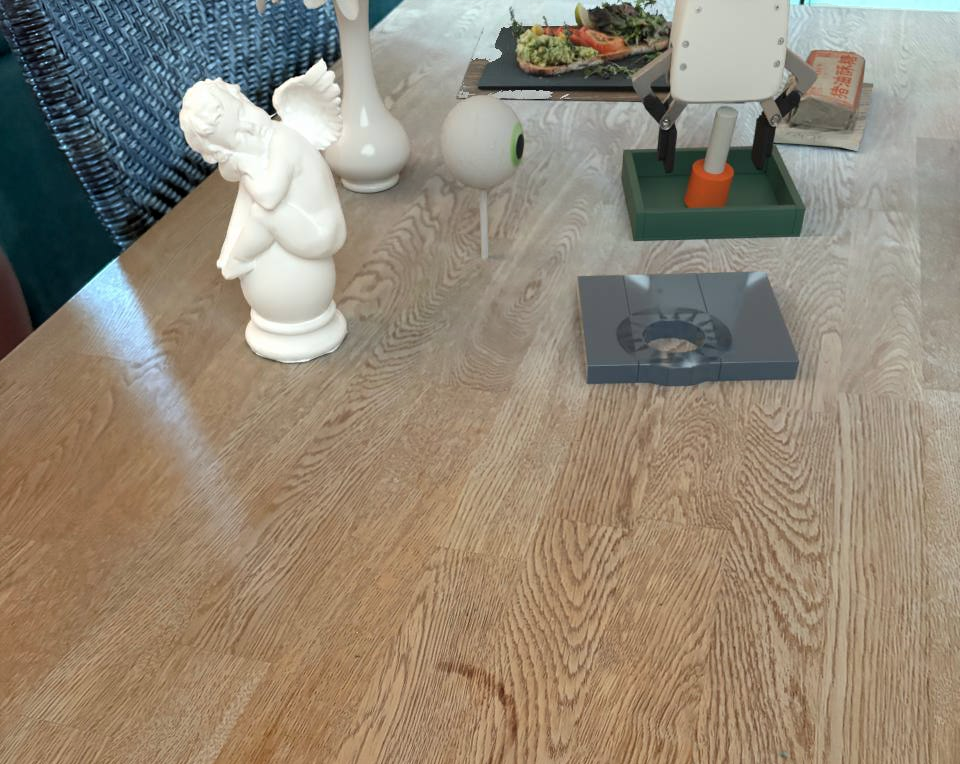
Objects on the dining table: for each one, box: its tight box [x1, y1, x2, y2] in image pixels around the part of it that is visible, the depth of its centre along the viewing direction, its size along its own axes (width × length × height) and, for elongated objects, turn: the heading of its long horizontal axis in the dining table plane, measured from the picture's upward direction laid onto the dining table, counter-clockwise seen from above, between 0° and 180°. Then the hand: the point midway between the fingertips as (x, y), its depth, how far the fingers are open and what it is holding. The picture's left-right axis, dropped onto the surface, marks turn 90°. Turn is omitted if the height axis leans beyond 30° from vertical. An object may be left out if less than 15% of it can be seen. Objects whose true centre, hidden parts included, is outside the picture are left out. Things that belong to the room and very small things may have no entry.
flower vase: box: [254, 0, 413, 194], centre depth 99 cm, size 13×18×25 cm
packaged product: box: [774, 49, 874, 152], centre depth 114 cm, size 18×5×10 cm
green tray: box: [620, 144, 807, 242], centre depth 101 cm, size 16×15×3 cm
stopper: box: [685, 105, 739, 208], centre depth 97 cm, size 4×4×9 cm
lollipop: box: [439, 95, 525, 260], centre depth 89 cm, size 7×7×15 cm
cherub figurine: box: [178, 57, 349, 364], centre depth 80 cm, size 12×12×22 cm
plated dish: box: [455, 0, 746, 104], centre depth 129 cm, size 35×28×7 cm
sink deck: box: [576, 270, 800, 387], centre depth 83 cm, size 16×15×3 cm
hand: (712, 165), depth 99 cm, fingers open, 8 cm apart
